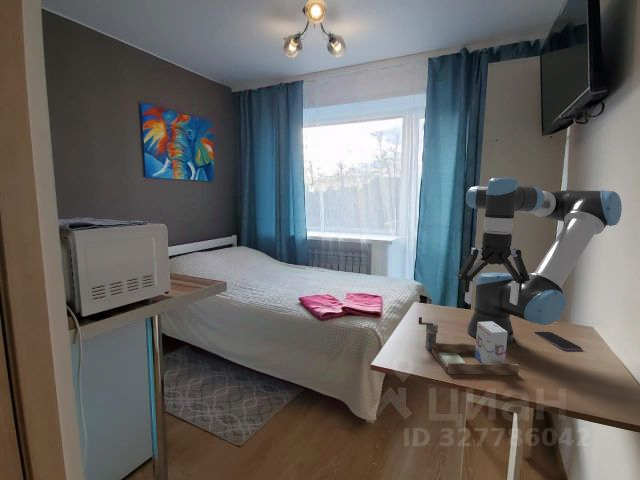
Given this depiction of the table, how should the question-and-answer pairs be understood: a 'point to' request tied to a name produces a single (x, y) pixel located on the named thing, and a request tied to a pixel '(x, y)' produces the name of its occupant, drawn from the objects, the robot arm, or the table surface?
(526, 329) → the table surface
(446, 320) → the table surface
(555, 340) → the smartphone
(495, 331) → the ink box
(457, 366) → the bay
